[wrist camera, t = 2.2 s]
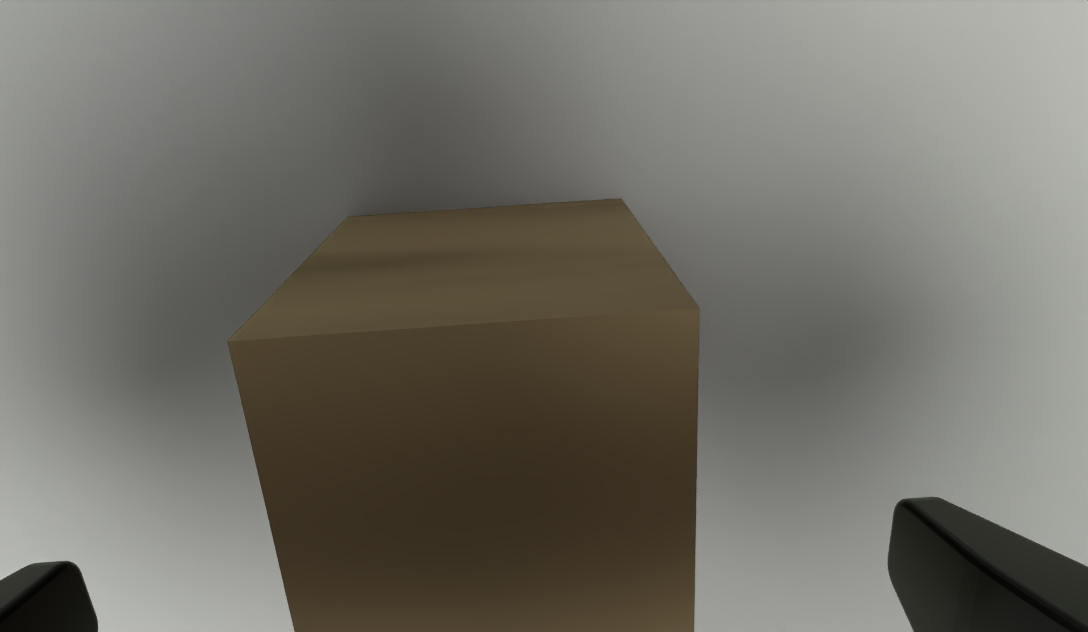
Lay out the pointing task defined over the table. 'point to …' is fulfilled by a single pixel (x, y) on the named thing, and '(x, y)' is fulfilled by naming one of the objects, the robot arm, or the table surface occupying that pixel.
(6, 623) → the robot arm
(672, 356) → the walnut block
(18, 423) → the table surface
